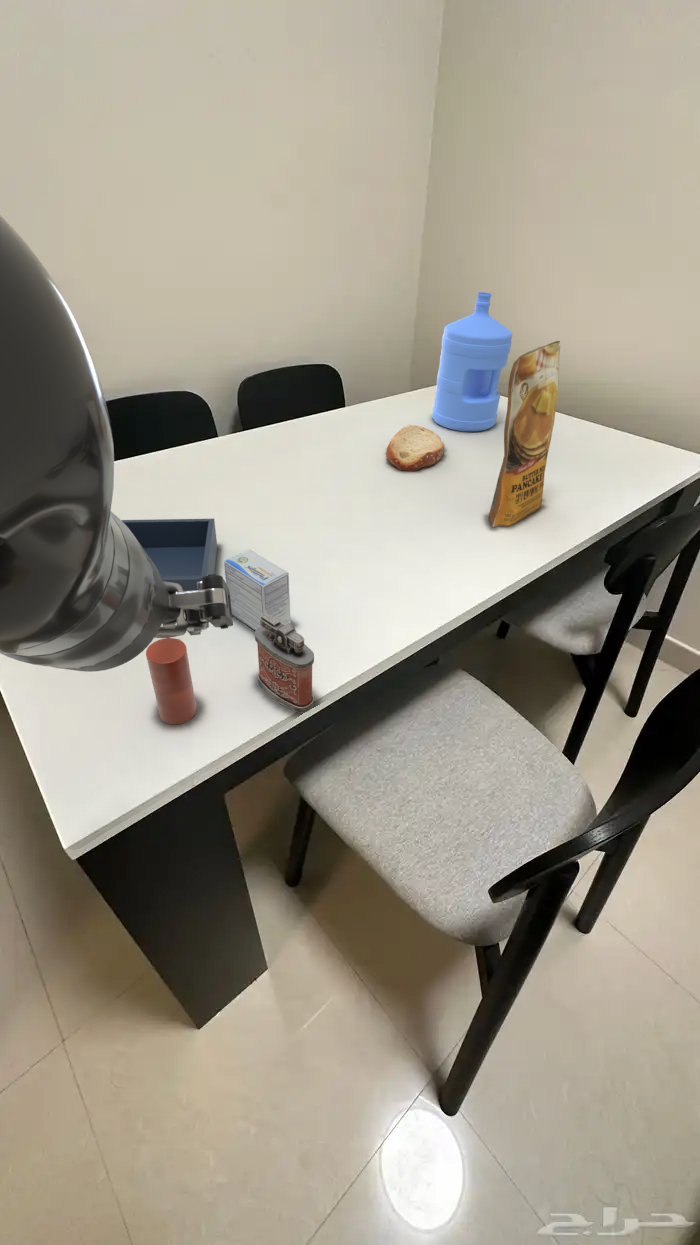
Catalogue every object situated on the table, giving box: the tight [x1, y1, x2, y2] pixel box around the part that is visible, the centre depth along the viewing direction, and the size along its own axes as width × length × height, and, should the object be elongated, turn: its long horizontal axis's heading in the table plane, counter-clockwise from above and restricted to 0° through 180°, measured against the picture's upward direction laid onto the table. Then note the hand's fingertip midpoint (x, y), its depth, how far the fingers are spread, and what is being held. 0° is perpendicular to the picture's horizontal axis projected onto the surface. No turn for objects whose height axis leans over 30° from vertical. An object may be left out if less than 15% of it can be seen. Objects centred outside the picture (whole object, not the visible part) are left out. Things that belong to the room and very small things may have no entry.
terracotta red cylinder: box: [145, 637, 197, 725], centre depth 62 cm, size 4×4×9 cm
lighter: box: [254, 614, 315, 714], centre depth 65 cm, size 8×3×10 cm, turn 49°
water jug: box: [432, 292, 513, 432], centre depth 136 cm, size 16×16×28 cm
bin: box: [120, 518, 218, 611], centre depth 83 cm, size 17×17×5 cm
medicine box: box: [223, 549, 292, 631], centre depth 76 cm, size 8×4×9 cm, turn 47°
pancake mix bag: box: [487, 340, 561, 528], centre depth 98 cm, size 7×19×28 cm, turn 137°
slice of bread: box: [385, 424, 445, 472], centre depth 126 cm, size 18×18×4 cm
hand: (135, 626), depth 43 cm, fingers open, 8 cm apart
